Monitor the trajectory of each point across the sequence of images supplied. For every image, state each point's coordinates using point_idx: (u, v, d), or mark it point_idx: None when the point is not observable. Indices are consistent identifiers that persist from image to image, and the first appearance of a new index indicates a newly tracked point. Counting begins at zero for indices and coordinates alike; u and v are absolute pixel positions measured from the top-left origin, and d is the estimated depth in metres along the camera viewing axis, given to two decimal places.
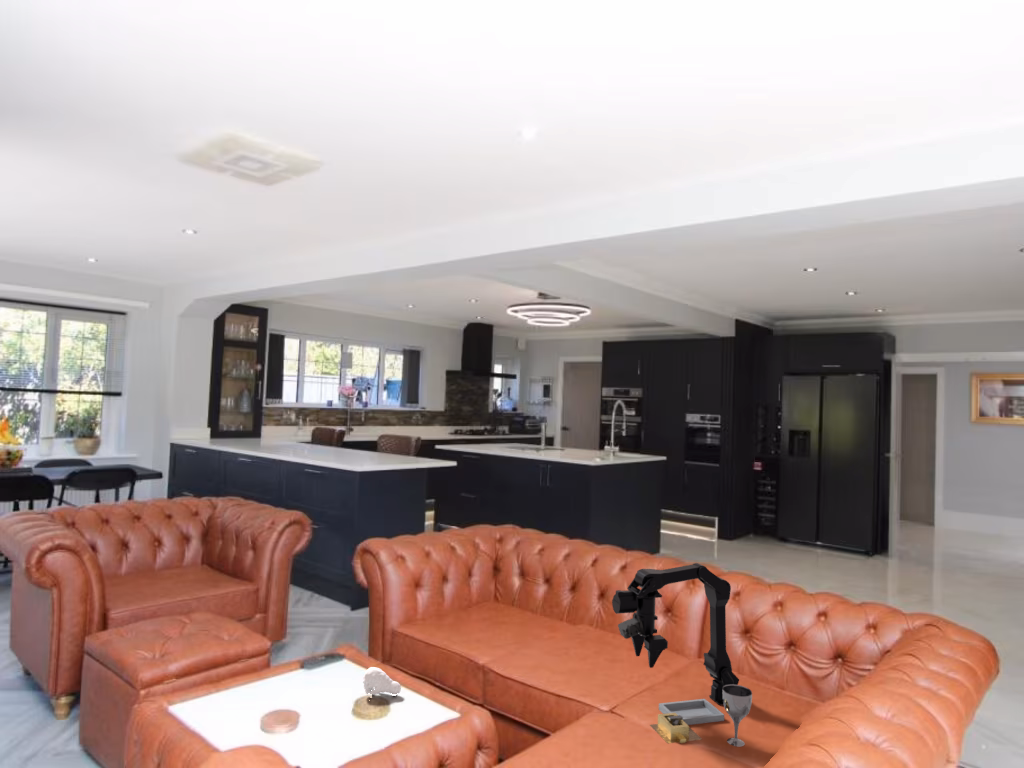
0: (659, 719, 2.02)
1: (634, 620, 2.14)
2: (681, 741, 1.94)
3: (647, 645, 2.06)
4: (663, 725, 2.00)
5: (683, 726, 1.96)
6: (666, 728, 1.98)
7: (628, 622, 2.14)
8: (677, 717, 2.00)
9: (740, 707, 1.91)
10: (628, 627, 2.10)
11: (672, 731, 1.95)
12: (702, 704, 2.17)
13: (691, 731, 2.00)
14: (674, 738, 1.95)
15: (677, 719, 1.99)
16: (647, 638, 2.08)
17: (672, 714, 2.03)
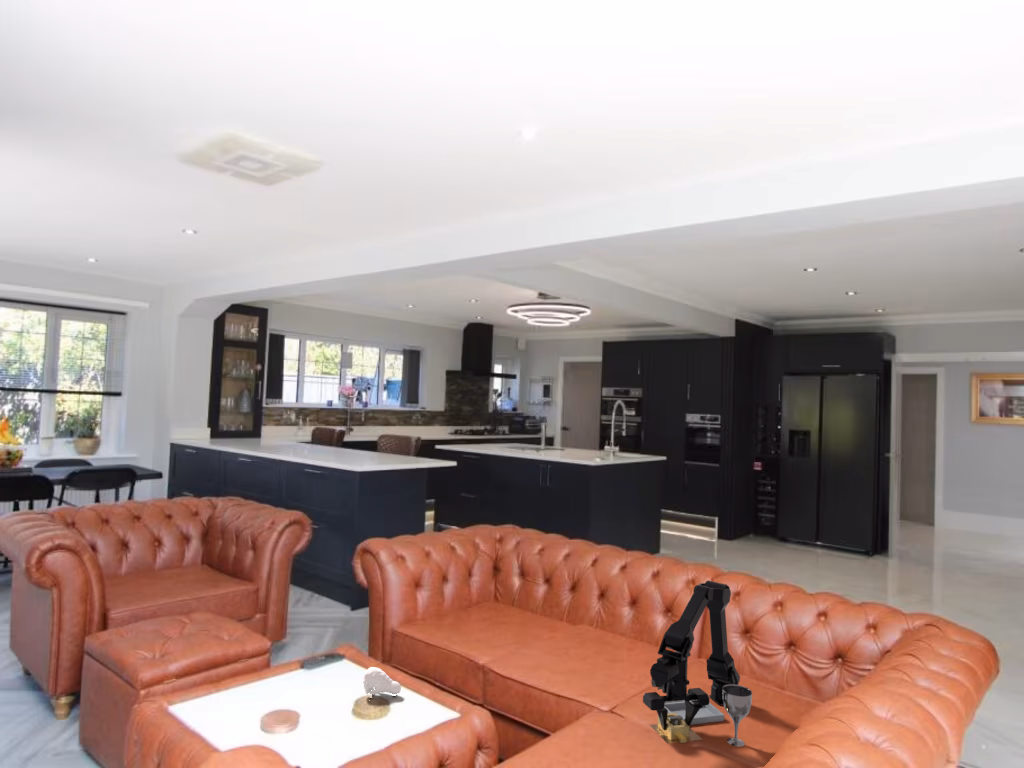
0: (659, 719, 2.02)
1: None
2: (681, 741, 1.93)
3: None
4: None
5: (683, 726, 1.96)
6: (666, 728, 1.98)
7: None
8: (677, 717, 2.00)
9: (740, 707, 1.91)
10: None
11: (672, 731, 1.95)
12: None
13: (691, 731, 2.00)
14: (674, 738, 1.95)
15: (677, 719, 1.99)
16: None
17: (672, 714, 2.03)
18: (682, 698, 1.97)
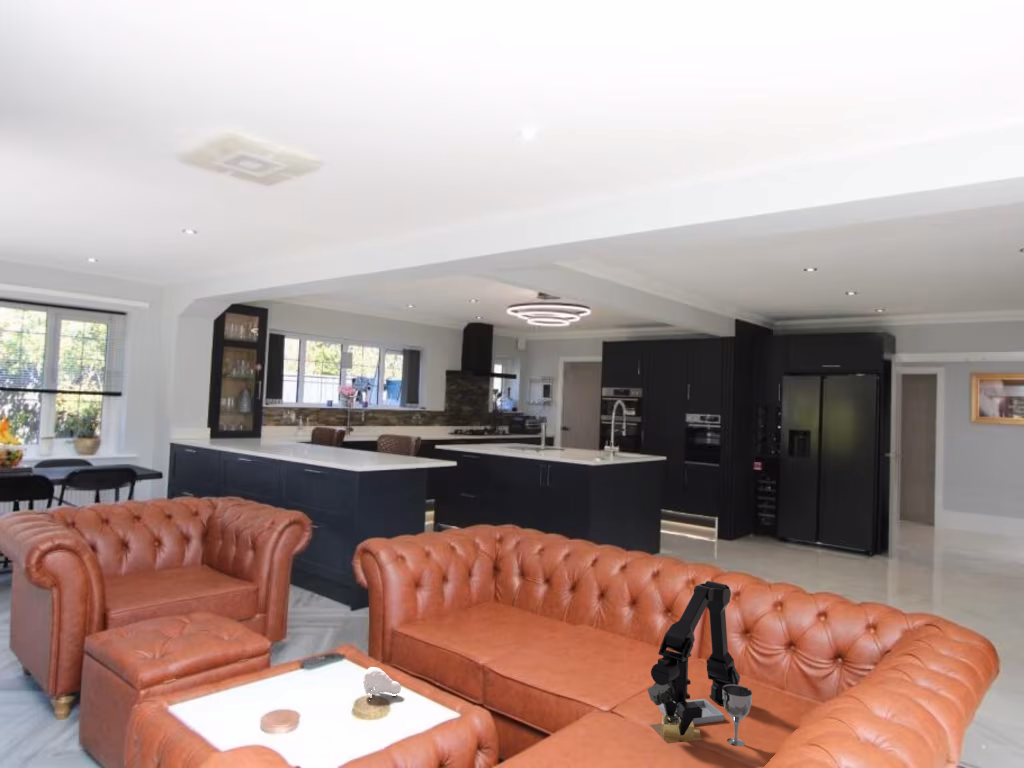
0: (666, 728, 1.97)
1: (665, 684, 1.99)
2: (699, 733, 1.98)
3: (680, 714, 1.91)
4: (676, 730, 1.97)
5: None
6: None
7: (659, 686, 1.99)
8: (677, 717, 2.00)
9: (740, 707, 1.91)
10: (659, 693, 1.95)
11: (693, 729, 1.97)
12: (702, 704, 2.17)
13: None
14: None
15: (677, 719, 1.99)
16: (680, 706, 1.93)
17: (665, 717, 2.01)
18: None
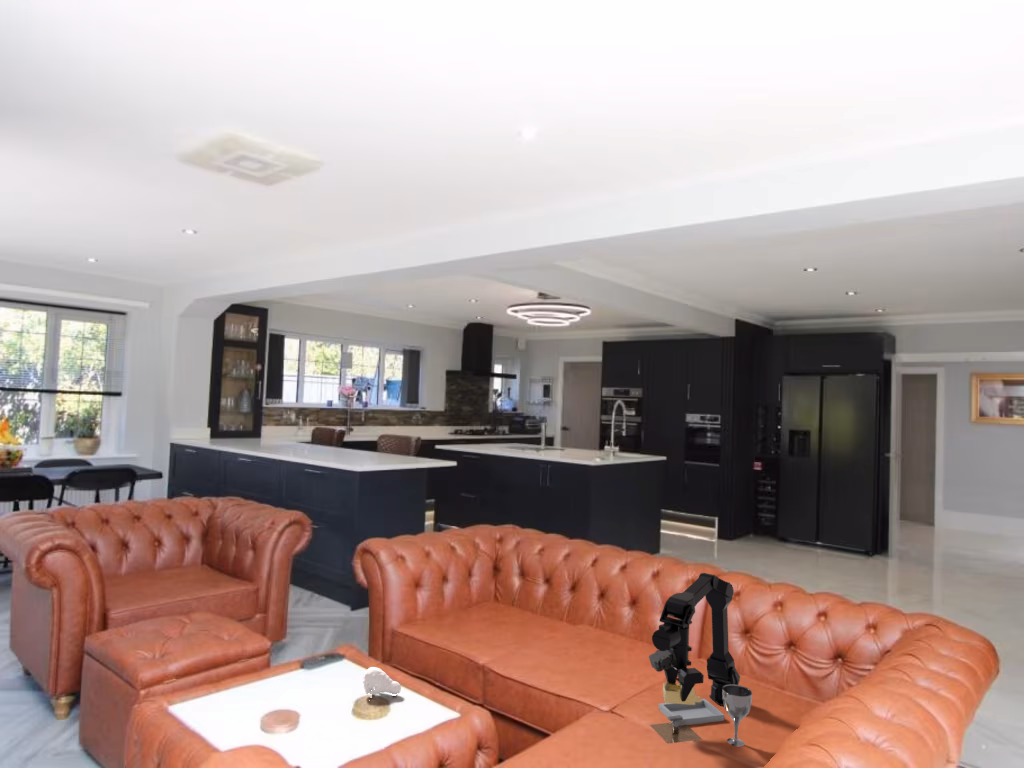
0: (668, 695, 1.97)
1: (666, 651, 1.99)
2: None
3: (682, 679, 1.91)
4: (678, 697, 1.97)
5: None
6: None
7: (660, 653, 1.99)
8: (677, 717, 2.00)
9: (740, 707, 1.91)
10: (660, 659, 1.95)
11: None
12: (702, 704, 2.17)
13: (691, 731, 2.00)
14: None
15: (677, 719, 1.99)
16: (681, 672, 1.93)
17: (666, 684, 2.01)
18: None
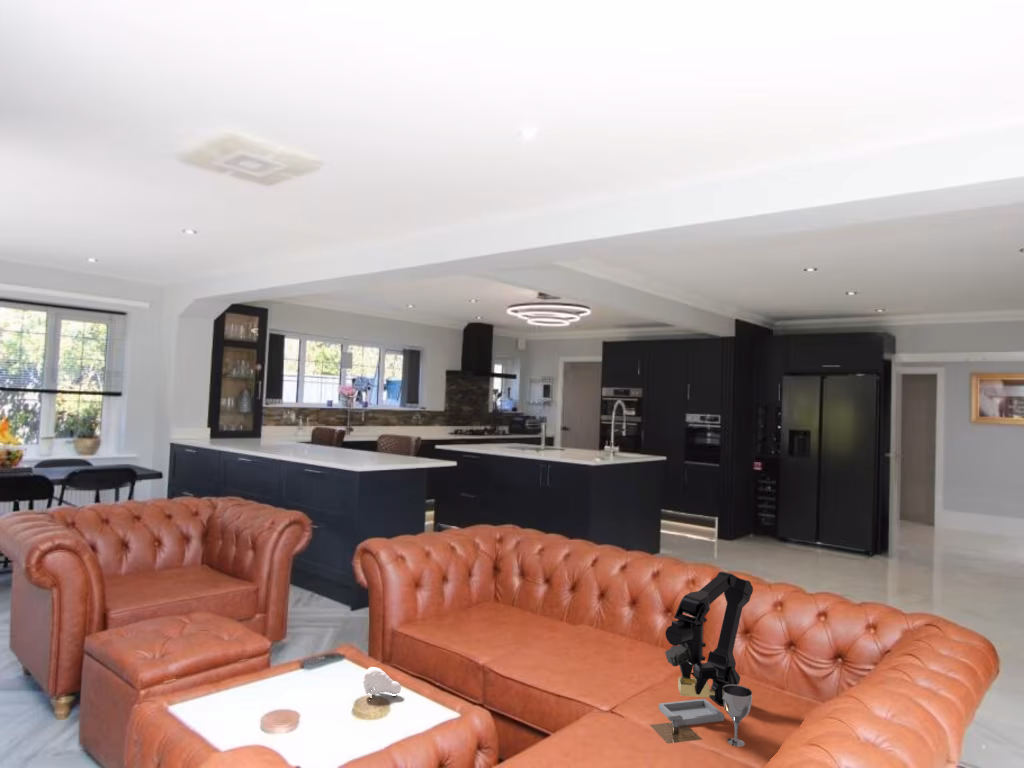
0: (683, 688, 2.08)
1: (681, 647, 2.10)
2: (714, 693, 2.10)
3: (697, 673, 2.03)
4: (693, 690, 2.08)
5: None
6: None
7: (675, 649, 2.10)
8: (677, 717, 2.00)
9: (740, 707, 1.91)
10: (676, 655, 2.06)
11: (709, 689, 2.08)
12: (702, 704, 2.17)
13: (691, 731, 2.00)
14: None
15: (677, 719, 1.99)
16: (696, 666, 2.04)
17: (681, 678, 2.13)
18: None
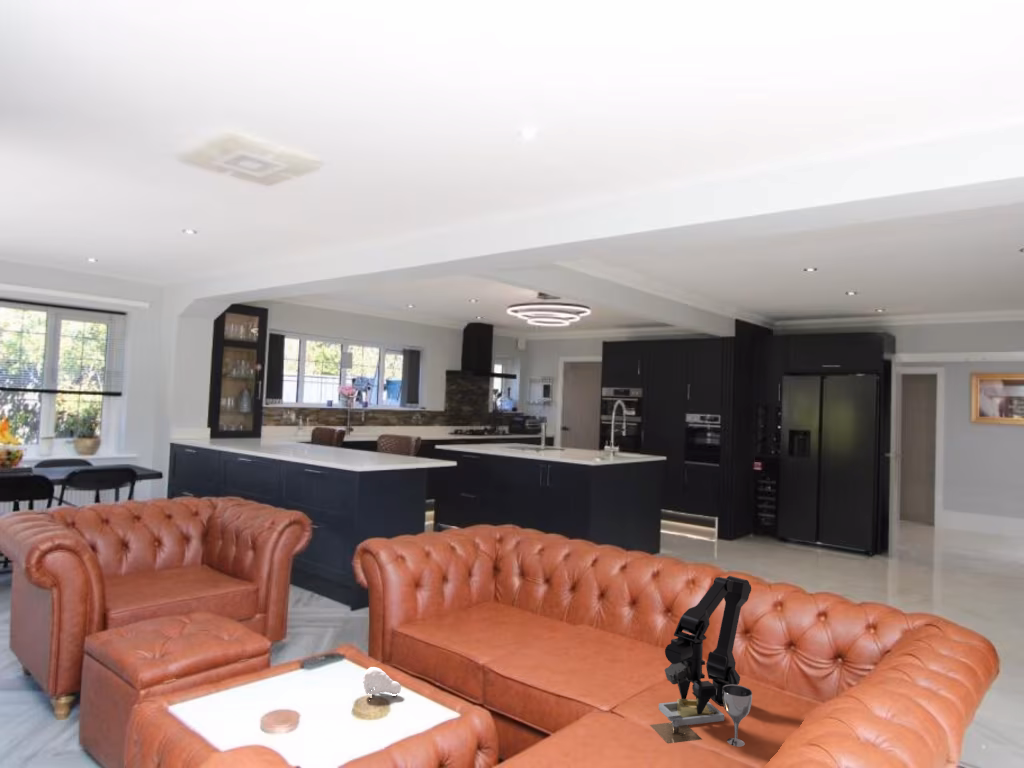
0: (683, 711, 2.08)
1: (681, 665, 2.10)
2: None
3: (696, 692, 2.03)
4: (692, 712, 2.08)
5: None
6: None
7: (675, 667, 2.10)
8: (677, 717, 2.00)
9: (740, 707, 1.91)
10: (676, 673, 2.06)
11: None
12: None
13: (691, 731, 2.00)
14: None
15: (677, 719, 1.99)
16: (696, 684, 2.04)
17: (680, 700, 2.12)
18: None
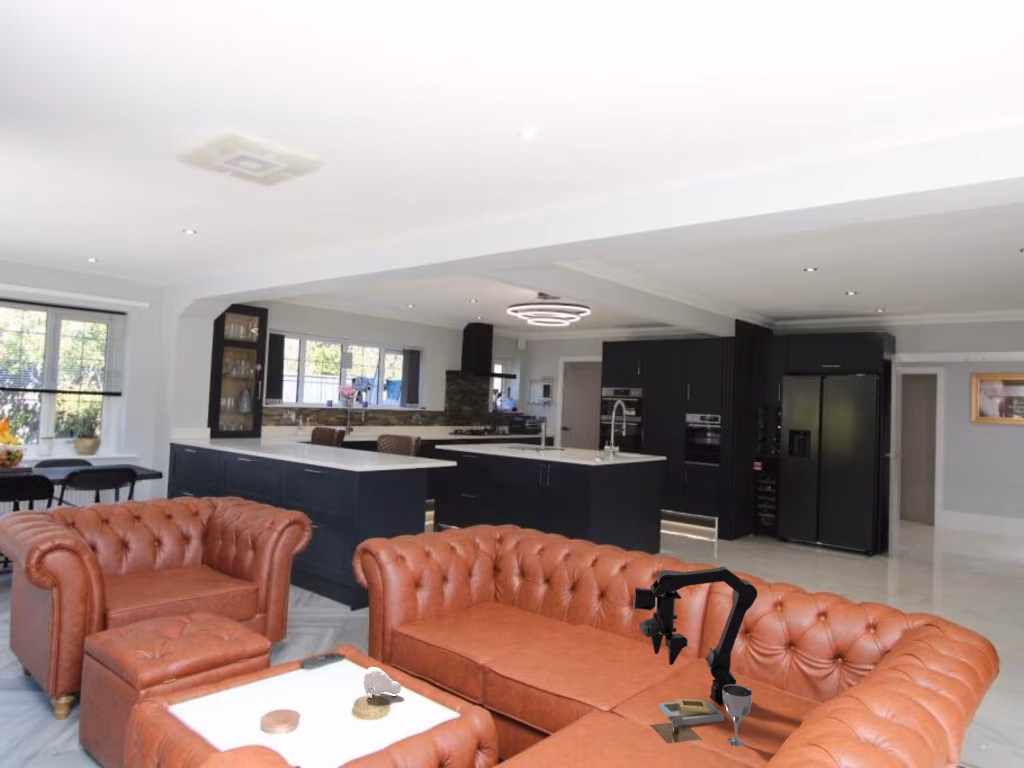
0: (683, 711, 2.08)
1: (654, 619, 2.23)
2: None
3: (668, 643, 2.15)
4: (692, 712, 2.08)
5: (704, 702, 2.12)
6: (699, 712, 2.08)
7: (649, 621, 2.23)
8: (677, 717, 2.00)
9: (740, 707, 1.91)
10: (650, 626, 2.18)
11: None
12: None
13: (691, 731, 2.00)
14: None
15: (677, 719, 1.99)
16: (668, 636, 2.17)
17: (680, 700, 2.12)
18: None
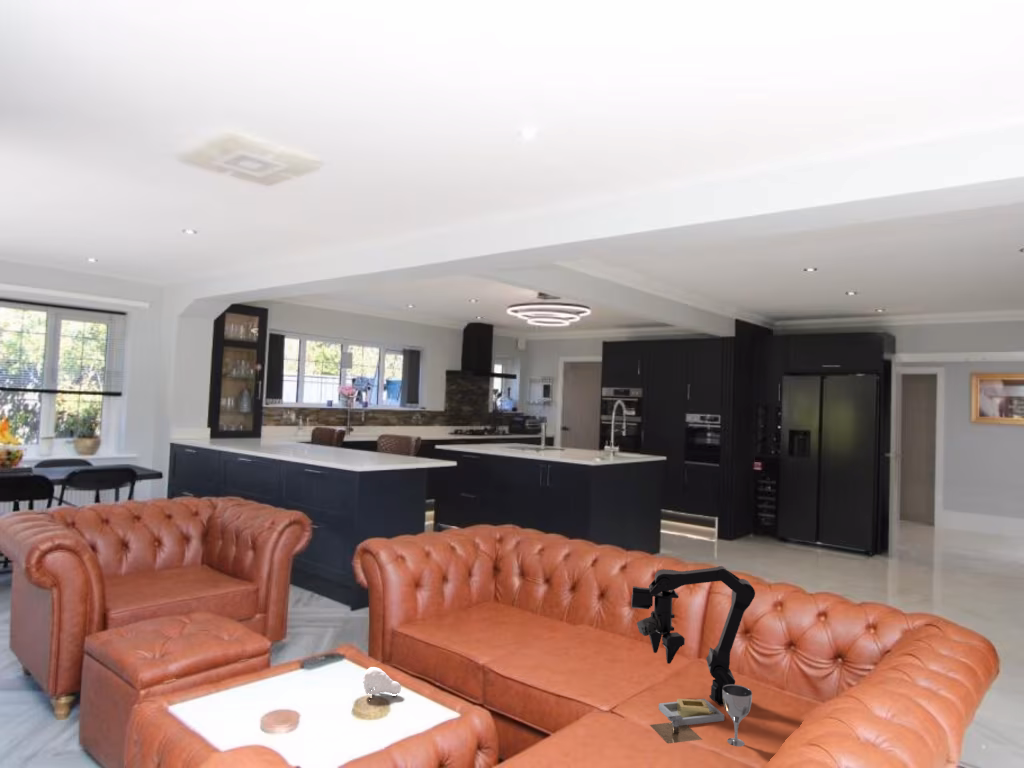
0: (683, 711, 2.08)
1: (652, 618, 2.25)
2: None
3: (665, 642, 2.17)
4: (692, 712, 2.08)
5: (704, 702, 2.12)
6: (699, 712, 2.08)
7: (646, 620, 2.24)
8: (677, 717, 2.00)
9: (740, 707, 1.91)
10: (647, 625, 2.20)
11: None
12: None
13: (691, 731, 2.00)
14: None
15: (677, 719, 1.99)
16: (665, 635, 2.18)
17: (680, 700, 2.12)
18: None
